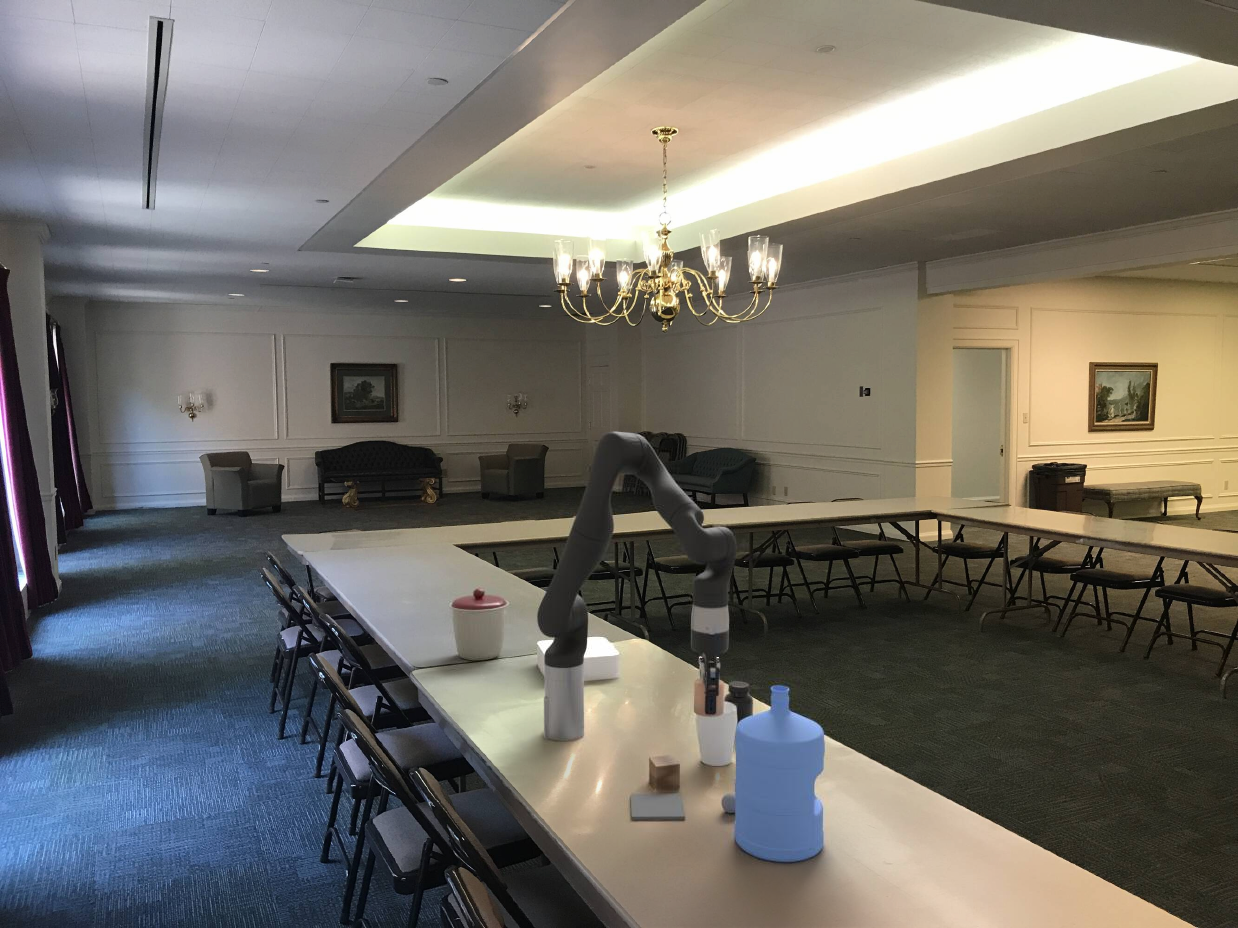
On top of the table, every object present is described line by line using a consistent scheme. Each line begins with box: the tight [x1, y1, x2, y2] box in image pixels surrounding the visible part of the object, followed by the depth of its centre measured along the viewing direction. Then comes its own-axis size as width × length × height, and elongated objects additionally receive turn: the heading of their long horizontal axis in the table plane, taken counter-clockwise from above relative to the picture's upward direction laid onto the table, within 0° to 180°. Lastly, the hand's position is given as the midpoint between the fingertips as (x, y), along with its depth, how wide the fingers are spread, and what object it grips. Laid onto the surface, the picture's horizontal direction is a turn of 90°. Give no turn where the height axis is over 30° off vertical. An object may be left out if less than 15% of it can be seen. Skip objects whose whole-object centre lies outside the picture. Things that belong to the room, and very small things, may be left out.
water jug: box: [734, 685, 826, 863], centre depth 161 cm, size 16×16×28 cm
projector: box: [536, 636, 620, 682], centre depth 266 cm, size 21×22×7 cm
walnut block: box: [648, 754, 681, 791], centre depth 187 cm, size 5×5×5 cm
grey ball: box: [720, 792, 736, 814], centre depth 174 cm, size 4×4×4 cm
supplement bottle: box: [724, 680, 754, 735], centre depth 215 cm, size 7×7×12 cm
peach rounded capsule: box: [693, 677, 725, 717], centre depth 184 cm, size 6×6×6 cm
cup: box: [695, 701, 737, 767], centre depth 199 cm, size 9×9×12 cm
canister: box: [448, 588, 509, 661], centre depth 280 cm, size 18×18×21 cm
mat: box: [630, 792, 686, 821], centre depth 176 cm, size 10×10×1 cm
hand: (708, 707), depth 184 cm, fingers closed on peach rounded capsule, 6 cm apart
